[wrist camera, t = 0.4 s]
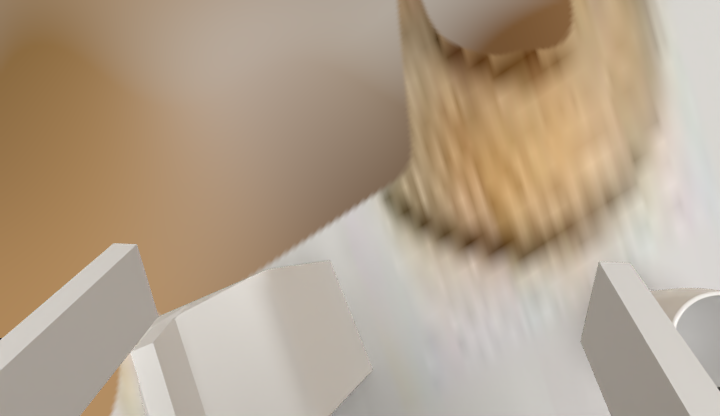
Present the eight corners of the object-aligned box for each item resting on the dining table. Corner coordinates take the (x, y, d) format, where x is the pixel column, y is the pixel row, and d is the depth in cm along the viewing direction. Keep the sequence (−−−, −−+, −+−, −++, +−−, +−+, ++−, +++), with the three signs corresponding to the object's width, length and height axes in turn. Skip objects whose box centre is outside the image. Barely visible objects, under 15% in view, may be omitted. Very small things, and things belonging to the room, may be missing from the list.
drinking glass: (616, 269, 45) (706, 268, 30) (681, 311, 43) (810, 332, 29) (576, 326, 45) (647, 354, 30) (641, 371, 43) (749, 422, 29)
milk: (373, 369, 47) (304, 484, 22) (272, 410, 48) (92, 566, 23) (329, 260, 49) (221, 248, 24) (234, 301, 50) (31, 331, 25)
